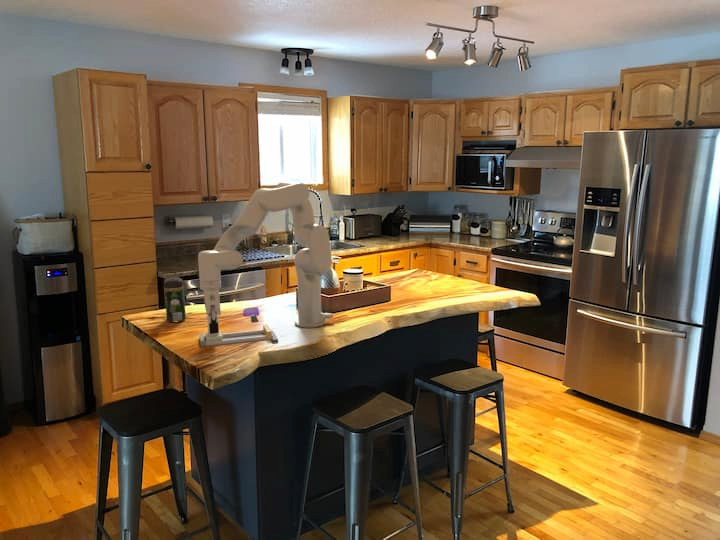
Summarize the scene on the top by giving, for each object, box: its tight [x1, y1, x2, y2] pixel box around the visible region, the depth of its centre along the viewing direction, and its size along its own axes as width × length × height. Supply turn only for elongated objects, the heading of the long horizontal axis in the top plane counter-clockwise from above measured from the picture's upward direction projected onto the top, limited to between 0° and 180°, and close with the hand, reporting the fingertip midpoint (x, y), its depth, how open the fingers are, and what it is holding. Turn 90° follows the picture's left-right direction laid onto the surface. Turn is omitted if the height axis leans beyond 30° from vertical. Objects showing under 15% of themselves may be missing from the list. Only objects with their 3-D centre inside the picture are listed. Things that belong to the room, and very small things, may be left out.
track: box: [198, 324, 279, 348], centre depth 223 cm, size 28×12×4 cm, turn 108°
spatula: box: [242, 306, 260, 323], centre depth 254 cm, size 24×7×2 cm, turn 16°
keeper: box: [204, 315, 223, 342], centre depth 219 cm, size 6×6×9 cm
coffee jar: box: [163, 276, 187, 322], centre depth 252 cm, size 10×8×19 cm
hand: (213, 329), depth 219 cm, fingers open, 8 cm apart
